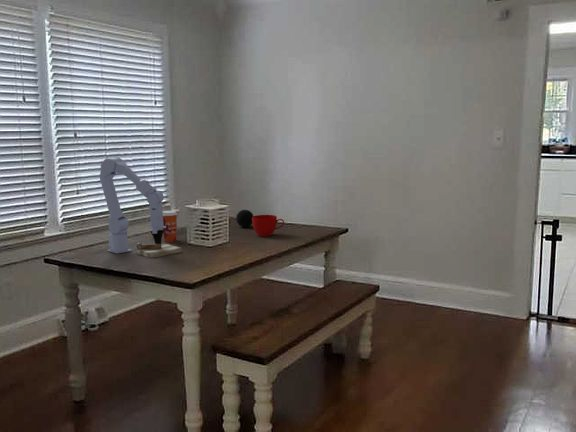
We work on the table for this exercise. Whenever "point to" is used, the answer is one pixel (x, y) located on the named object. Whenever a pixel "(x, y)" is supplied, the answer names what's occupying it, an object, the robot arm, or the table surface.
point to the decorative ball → (244, 218)
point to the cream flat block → (159, 251)
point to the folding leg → (148, 246)
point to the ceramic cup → (265, 224)
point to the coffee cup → (170, 225)
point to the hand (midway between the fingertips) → (158, 246)
